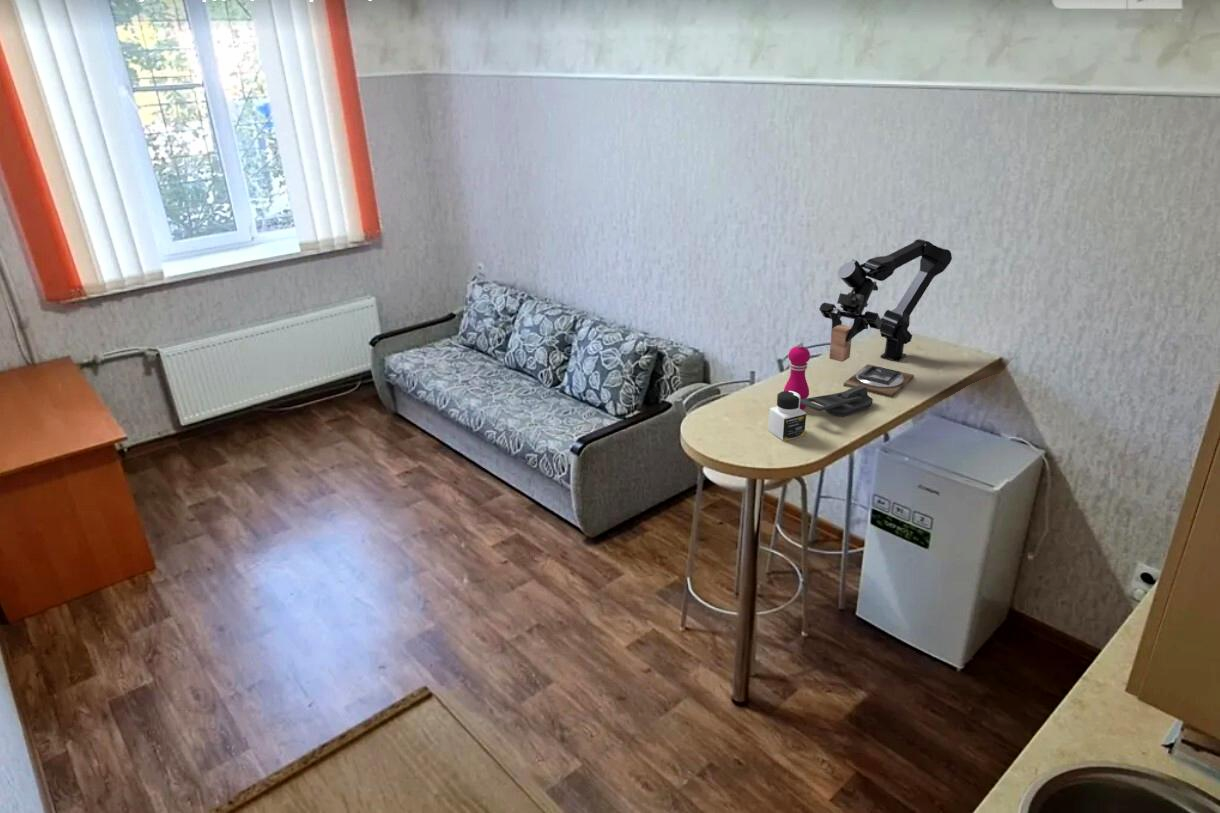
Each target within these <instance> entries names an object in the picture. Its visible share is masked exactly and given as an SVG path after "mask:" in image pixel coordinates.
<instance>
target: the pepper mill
mask: <svg viewBox="0 0 1220 813" xmlns="http://www.w3.org/2000/svg"><path fill="white" fill-rule="evenodd" d="M787 356H788V357H787V358H788V360H789V367H788V368H789V369H790V374H789V378H788V379H787V382H786V383H785V386H784V388H783V391H793V392H796V393H798V394H799V395H800V399H805V398H809V395H810V388H809V385H808V381H807V378H806V370H807V369H808V362H809V361H810V358H811V354H810V350H809V349H808V348H806V347H805V346H804V343H803V342H802V341H798V342H797V343H796V346H794V347H792V348H791V349H790V350H789V351H788V355H787ZM805 408H807V407H806V406H804V405H803V404H801V403H800V409H801V410H804V409H805Z"/></svg>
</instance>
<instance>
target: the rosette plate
mask: <svg viewBox="0 0 1220 813" xmlns="http://www.w3.org/2000/svg"><path fill="white" fill-rule="evenodd" d="M869 365H870V366H869V367H868V368H865V369H862V368H861V369H859V370H858V371H857V372H856V373H855V374H856V379H857V381H859V382H860V383H862V384H864V385H867V386H870V387H876V388H893V387H897V386H899V385H901V384H902V383H903V376H902V375H901V372H902V371H900V370H896V369H895V370H894V369H890V368H887V369H886V368H885V367H882V366H877V365H874V364H873V365H872V364H869ZM899 371H900V372H899Z"/></svg>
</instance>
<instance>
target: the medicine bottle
mask: <svg viewBox="0 0 1220 813" xmlns="http://www.w3.org/2000/svg"><path fill="white" fill-rule="evenodd" d="M768 414H769V415H768V432H770V433H771V434H772V433H773V434H772V435H774V436H776V437H777V438H778V439H779V440H781V441H782V442H785V441H789V440H793V439H796V438H801V437H804V436H805V435H806V434H805V432H806V420H807V412H806V411H804V409H802V410H801V409H800V395H799V394H798V393H796V392H793V391H784V390H783V391H780V392H779V393H778V394H777V398H776V406H773V407H770V408H769V413H768Z"/></svg>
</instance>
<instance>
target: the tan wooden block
mask: <svg viewBox="0 0 1220 813" xmlns="http://www.w3.org/2000/svg"><path fill="white" fill-rule="evenodd" d="M851 327H852V326H849V325H844V324H841V325H840V324H839V325H837V326H835V327H834V328H832V327H831V331H832V334H831V333H830V334H831V335H830V347H829V348H830V349H829V360H833V361H837V362H841V363H843V362H845V361H846V360H848V359H850V358H851V348H852V339H851V340H849V341H848V342H846V338H847V335H848V333H849V331H850V329H851Z"/></svg>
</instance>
